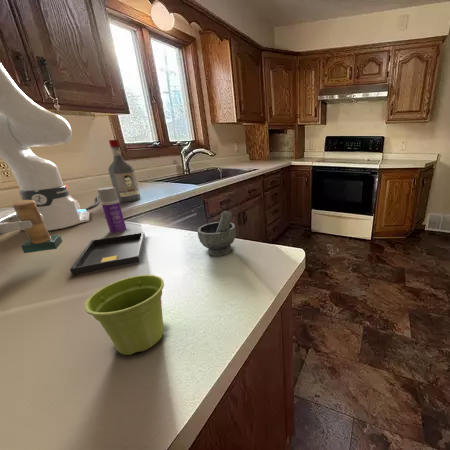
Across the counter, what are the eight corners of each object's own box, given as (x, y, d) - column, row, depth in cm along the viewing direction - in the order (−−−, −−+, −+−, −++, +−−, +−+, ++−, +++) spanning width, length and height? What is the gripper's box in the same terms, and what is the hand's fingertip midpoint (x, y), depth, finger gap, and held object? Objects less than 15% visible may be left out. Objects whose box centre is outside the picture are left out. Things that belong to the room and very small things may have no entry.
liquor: (115, 200, 128) (98, 140, 118) (134, 197, 135) (119, 140, 125) (123, 202, 123) (106, 140, 113) (142, 199, 130) (128, 139, 120)
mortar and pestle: (194, 253, 66) (186, 210, 62) (222, 241, 74) (217, 202, 70) (220, 263, 60) (213, 217, 56) (248, 250, 67) (244, 208, 63)
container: (118, 234, 81) (105, 190, 76) (106, 234, 82) (93, 189, 77) (130, 229, 85) (118, 187, 80) (119, 229, 86) (106, 186, 81)
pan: (93, 246, 72) (91, 240, 71) (145, 238, 78) (144, 231, 77) (72, 277, 56) (69, 269, 55) (140, 263, 61) (138, 255, 61)
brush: (31, 245, 62) (10, 200, 57) (62, 241, 64) (44, 198, 59) (24, 253, 59) (0, 207, 53) (56, 248, 61) (36, 204, 56)
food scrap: (104, 262, 61) (102, 257, 61) (118, 259, 63) (117, 255, 62) (101, 267, 59) (99, 262, 58) (116, 264, 60) (115, 260, 60)
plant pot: (88, 354, 35) (67, 304, 32) (147, 313, 44) (135, 270, 41) (133, 374, 32) (115, 321, 29) (187, 325, 40) (177, 280, 37)
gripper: (-102, 231, 43) (8, 219, 49) (-26, 206, 60) (49, 199, 66) (-82, 263, 45) (21, 247, 51) (-14, 230, 62) (57, 221, 68)
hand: (37, 220), depth 59 cm, fingers closed on brush, 4 cm apart
